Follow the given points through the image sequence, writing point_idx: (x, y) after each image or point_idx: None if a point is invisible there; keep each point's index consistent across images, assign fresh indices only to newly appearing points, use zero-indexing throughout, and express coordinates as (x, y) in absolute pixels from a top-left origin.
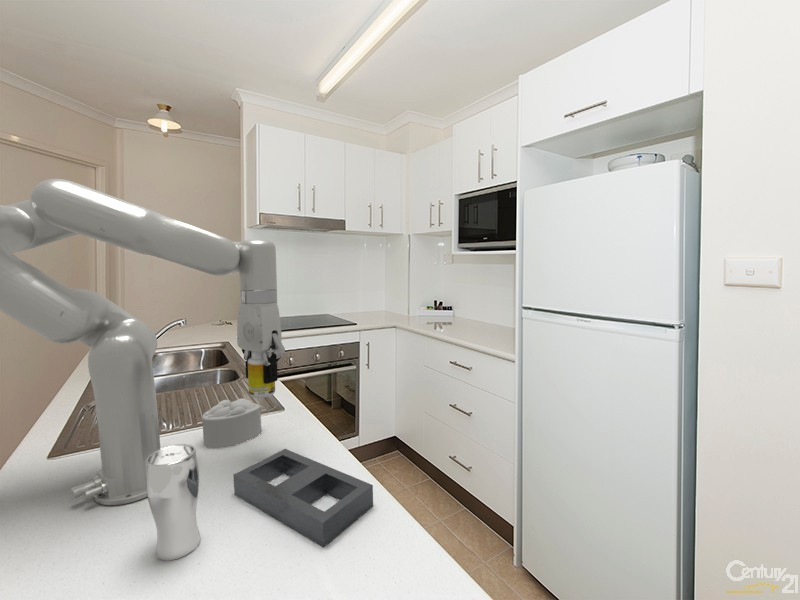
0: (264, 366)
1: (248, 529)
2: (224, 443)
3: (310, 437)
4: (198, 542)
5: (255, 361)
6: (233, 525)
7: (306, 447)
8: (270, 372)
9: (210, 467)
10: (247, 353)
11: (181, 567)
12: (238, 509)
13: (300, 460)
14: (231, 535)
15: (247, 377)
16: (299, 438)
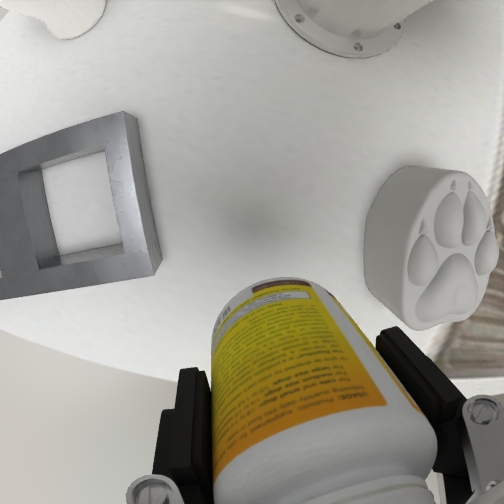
0: (168, 463)
1: (26, 109)
2: (381, 197)
3: None
4: (52, 35)
5: (275, 469)
6: (51, 90)
7: None
8: (158, 444)
9: (304, 124)
10: (479, 457)
11: None
12: (84, 109)
13: (71, 270)
14: (34, 82)
15: (385, 332)
16: None
